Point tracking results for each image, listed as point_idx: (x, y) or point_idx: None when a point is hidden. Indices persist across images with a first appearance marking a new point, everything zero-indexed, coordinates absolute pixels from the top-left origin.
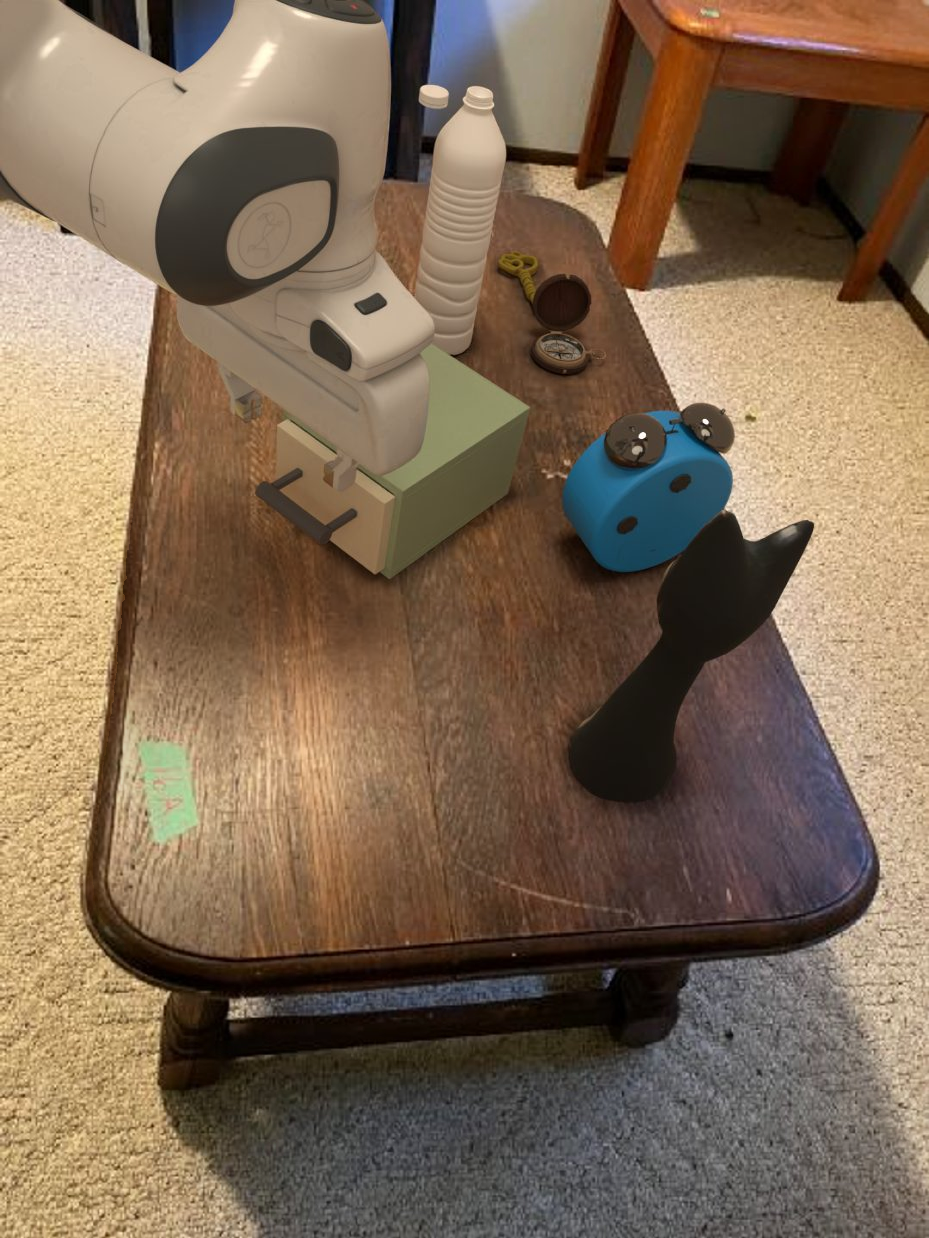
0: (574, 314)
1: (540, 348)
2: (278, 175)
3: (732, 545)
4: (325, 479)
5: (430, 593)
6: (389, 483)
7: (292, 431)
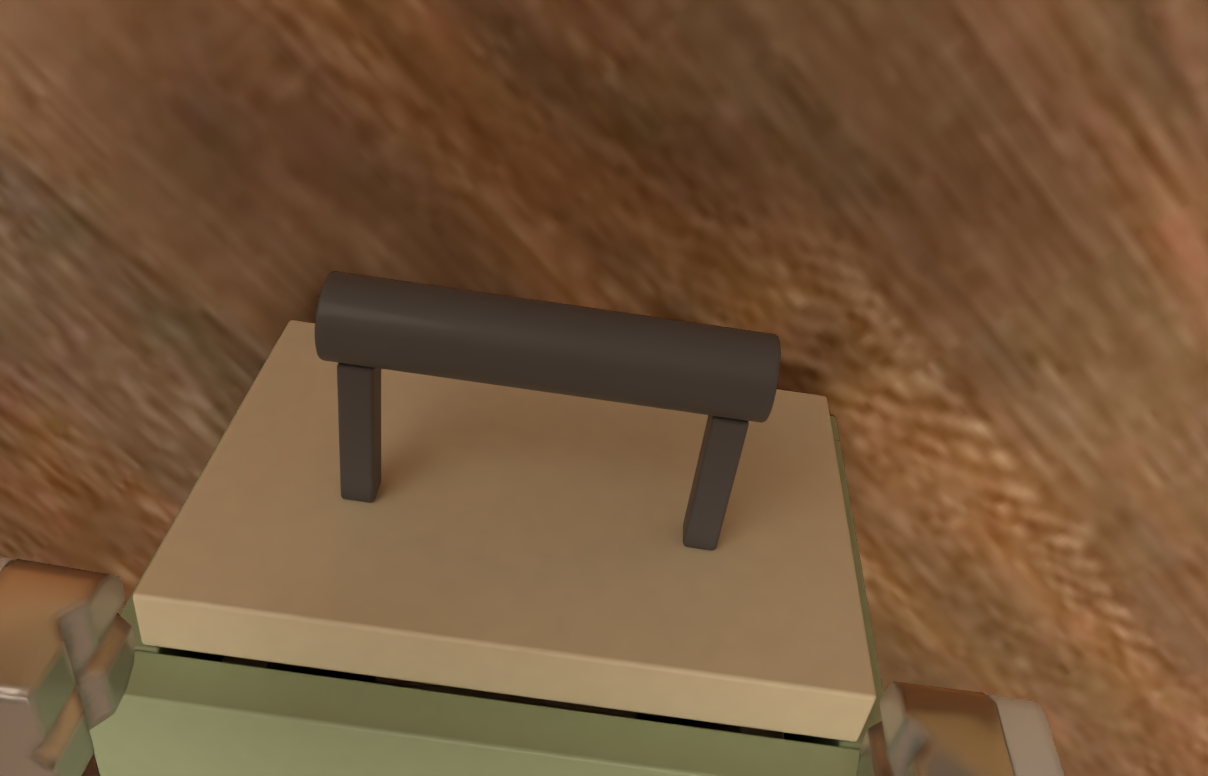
0: None
1: None
2: None
3: None
4: (66, 591)
5: (146, 367)
6: (164, 693)
7: (785, 702)
